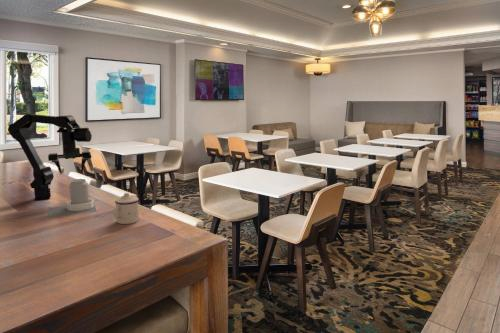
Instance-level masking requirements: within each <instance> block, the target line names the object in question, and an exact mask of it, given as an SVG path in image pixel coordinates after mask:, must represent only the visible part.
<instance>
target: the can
mask: <svg viewBox="0 0 500 333" xmlns="http://www.w3.org/2000/svg"><path fill="white" fill-rule="evenodd" d="M69 194H70V196H69V197H70V200H71V204H85V203H89V198H90V196H89V184H88V182H87V180H86V179H84V178H77V179H72V180H70V183H69Z"/></svg>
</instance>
